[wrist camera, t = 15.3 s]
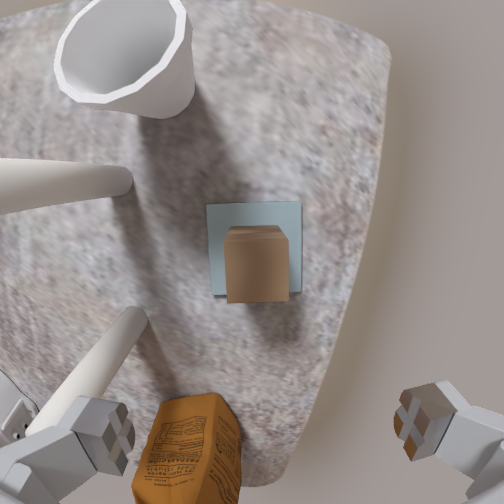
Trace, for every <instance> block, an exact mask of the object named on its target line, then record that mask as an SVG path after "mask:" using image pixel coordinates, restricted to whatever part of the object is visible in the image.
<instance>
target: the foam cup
mask: <svg viewBox="0 0 504 504" xmlns="http://www.w3.org/2000/svg"><path fill="white" fill-rule="evenodd" d="M192 30H193V28H192V25H191V23H190V20H189V17H188V15H187V12H186V10H185V9H184V7H183V5H182V4H181V2H180V0H93V1H92V2H91V3H90V4H88V5H87V6H86V7H85V8H84V9H82V10H81V11H80V12H79V13H78V14H77V15H76V16H74V18H73V19H72V21H71V22H70V24H69V25H68V27H67V29H66V30H65V32H64V33H63V35H62V37H61V38H60V40H59V42H58V46H57V51H56V56H55V61H54V66H53V68H54V71H55V75H56V78H57V82H58V85H59V88H60V89H61V90H62V91H63V92H65V93H66V94H67V95H69V96H70V97H71V98H73V99H74V100H75V101H77V102H78V103H80V104H83V105H85V106H87V107H90V108H92V109H94V110H109V111H120V112H125V113H130V114H135V115H140V116H144V117H150V118H157V119H166V118H169V117H173V116H176V115H178V114H179V113H180V112H181V111H183V110H184V109H185V108H186V107H188V105H189V103H190V101H191V100H192V98H193V96H194V93H195V76H194V66H193V57H192V47H191V43H192Z"/></svg>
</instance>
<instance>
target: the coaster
mask: <svg viewBox="0 0 504 504" xmlns="http://www.w3.org/2000/svg"><path fill="white" fill-rule="evenodd" d="M206 215H207V233H208V250H209V265H210V279H211V292H212V295H227V294H226V277H225V260H224V240H225V238H226V235H227V233H228V231H229V228H230V227H231V226H259V225H278V226H279V228H280V229H281V230H282V232H283V233H284V234H285V236H286V237H287V239H288V240H289V292H301V259H302V224H301V201H285V202H248V203H223V204H206Z"/></svg>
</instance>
